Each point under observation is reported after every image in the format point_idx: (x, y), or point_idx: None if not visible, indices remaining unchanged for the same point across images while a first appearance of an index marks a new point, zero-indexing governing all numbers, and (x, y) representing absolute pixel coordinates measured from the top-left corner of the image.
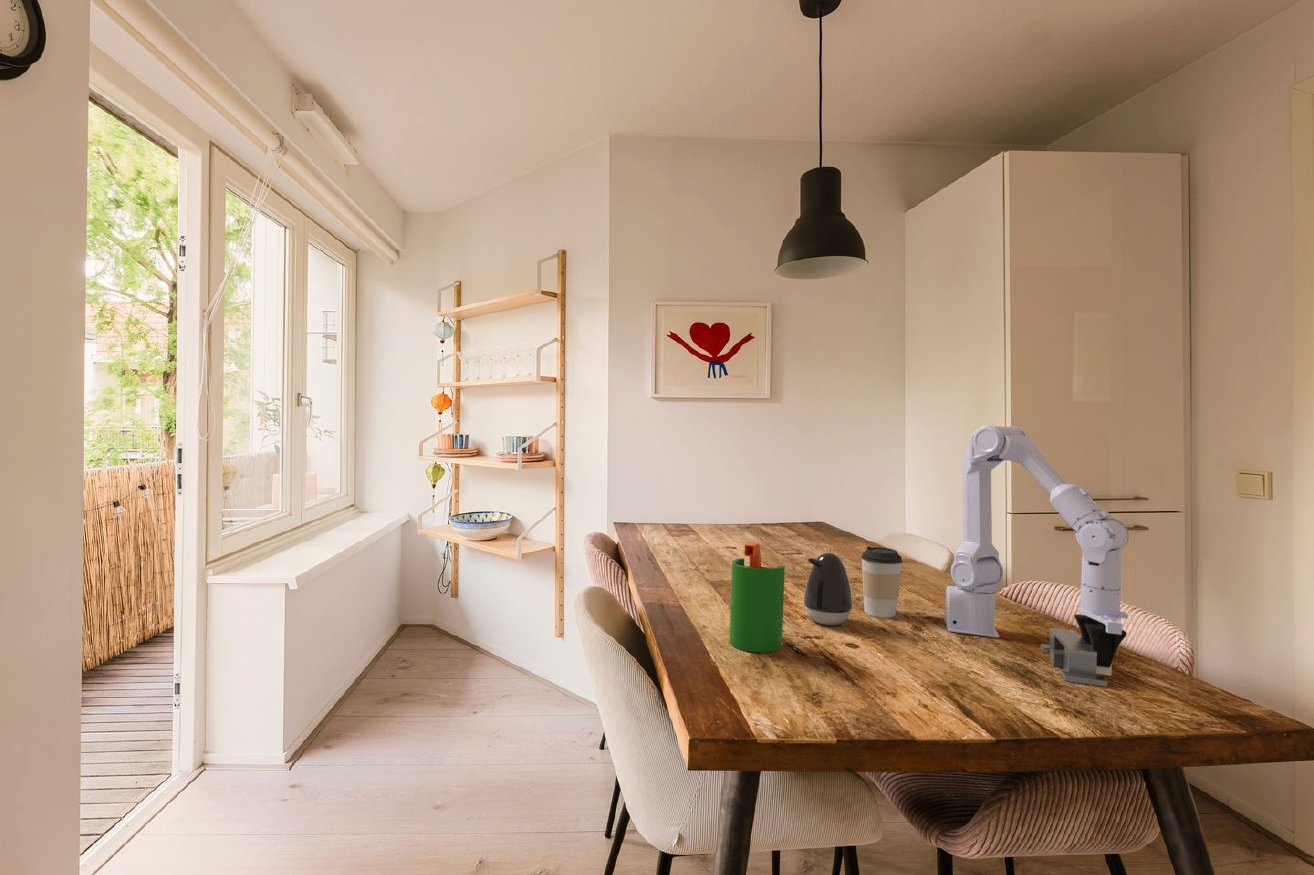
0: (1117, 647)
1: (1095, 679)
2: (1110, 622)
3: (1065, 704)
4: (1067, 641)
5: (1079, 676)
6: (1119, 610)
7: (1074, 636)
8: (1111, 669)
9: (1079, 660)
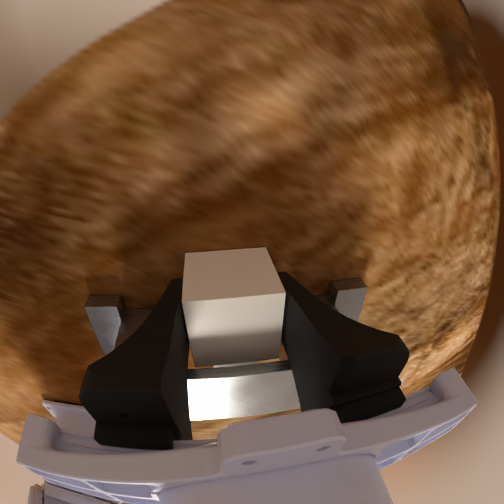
0: (337, 311)
1: (360, 308)
2: (455, 424)
3: (425, 340)
4: (274, 405)
5: None
6: (357, 484)
7: (197, 392)
8: (270, 258)
9: None
